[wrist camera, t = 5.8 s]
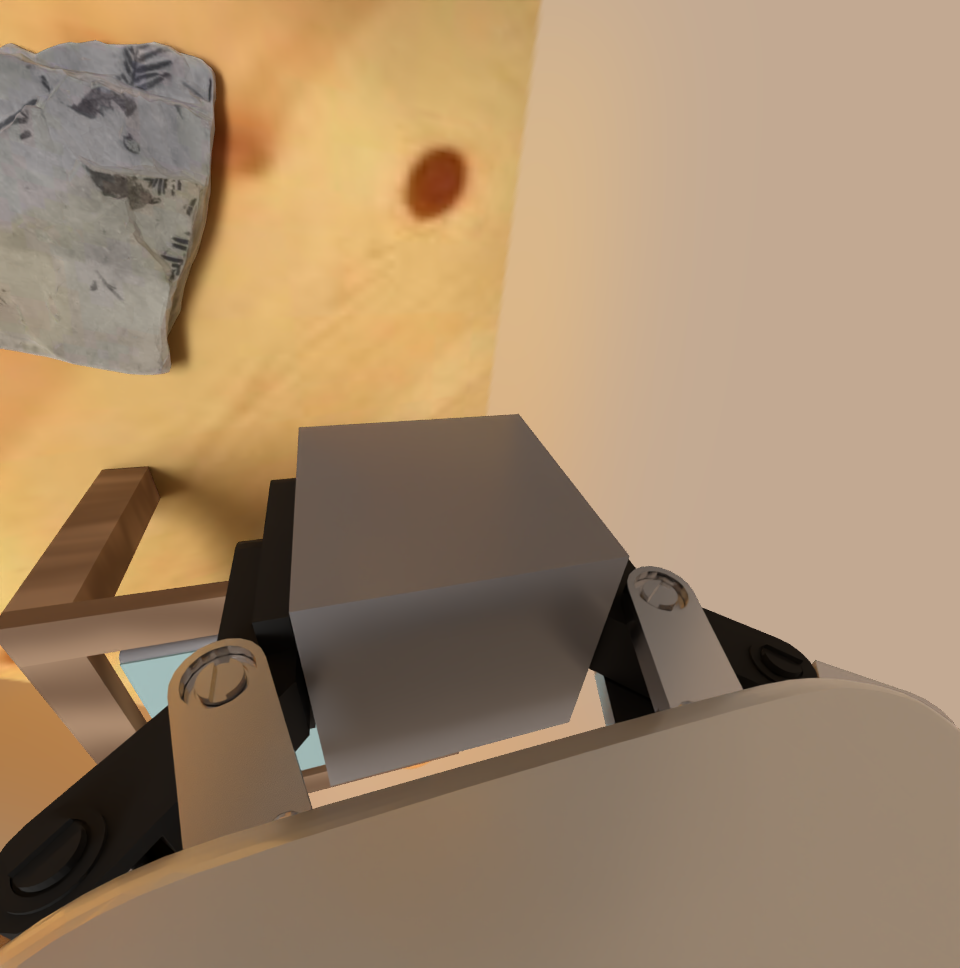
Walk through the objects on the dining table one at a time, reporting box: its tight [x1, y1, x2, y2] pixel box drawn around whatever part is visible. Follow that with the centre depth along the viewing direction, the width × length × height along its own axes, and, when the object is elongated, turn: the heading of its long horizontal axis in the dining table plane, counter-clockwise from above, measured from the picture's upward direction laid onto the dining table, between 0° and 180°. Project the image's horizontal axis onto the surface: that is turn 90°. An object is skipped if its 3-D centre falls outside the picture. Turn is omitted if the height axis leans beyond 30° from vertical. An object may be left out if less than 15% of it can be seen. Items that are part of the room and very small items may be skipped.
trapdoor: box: [119, 634, 325, 770], centre depth 28 cm, size 14×14×1 cm
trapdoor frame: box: [0, 467, 459, 793], centre depth 32 cm, size 21×21×12 cm
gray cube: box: [289, 414, 629, 786], centre depth 10 cm, size 5×5×5 cm
